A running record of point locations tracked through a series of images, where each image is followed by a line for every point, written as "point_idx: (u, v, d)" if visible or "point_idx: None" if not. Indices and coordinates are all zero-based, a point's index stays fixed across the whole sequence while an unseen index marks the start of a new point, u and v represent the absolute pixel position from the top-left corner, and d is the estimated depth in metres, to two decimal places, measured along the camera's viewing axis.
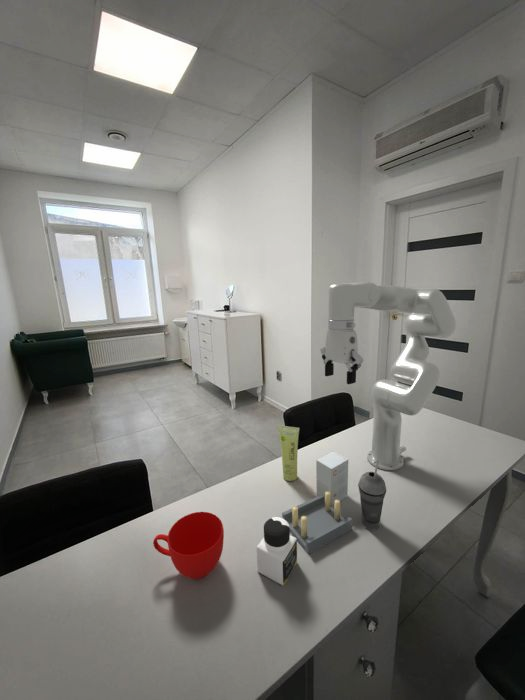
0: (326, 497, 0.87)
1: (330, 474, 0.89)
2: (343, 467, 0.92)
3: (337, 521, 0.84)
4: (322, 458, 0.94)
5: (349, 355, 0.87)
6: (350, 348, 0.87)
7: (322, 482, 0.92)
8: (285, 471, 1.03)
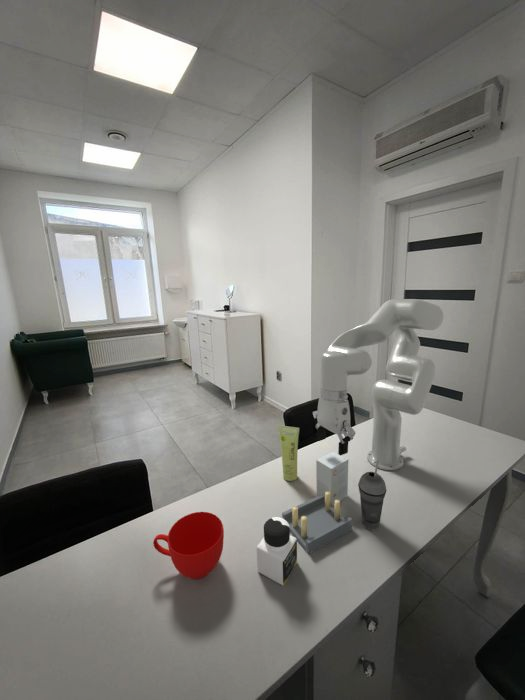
0: (326, 497, 0.87)
1: (330, 474, 0.89)
2: (343, 467, 0.92)
3: (337, 521, 0.84)
4: (322, 458, 0.94)
5: (341, 426, 0.85)
6: (342, 419, 0.85)
7: (322, 482, 0.92)
8: (285, 471, 1.03)
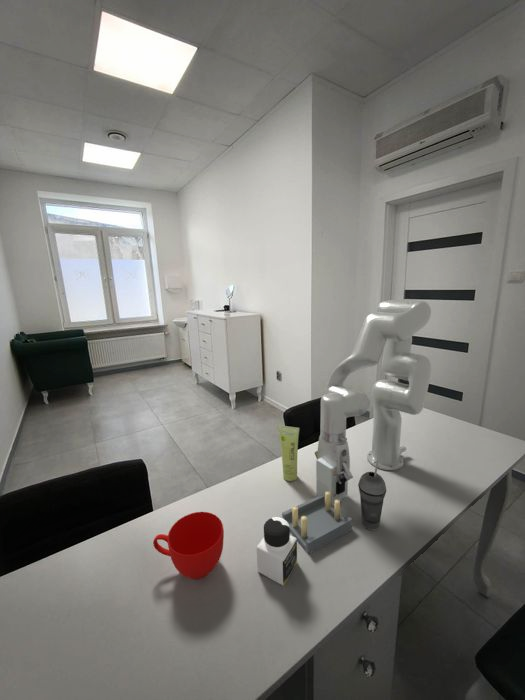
0: (326, 497, 0.87)
1: (330, 474, 0.89)
2: None
3: (337, 521, 0.84)
4: None
5: (341, 468, 0.88)
6: (342, 461, 0.88)
7: (322, 482, 0.92)
8: (285, 471, 1.03)
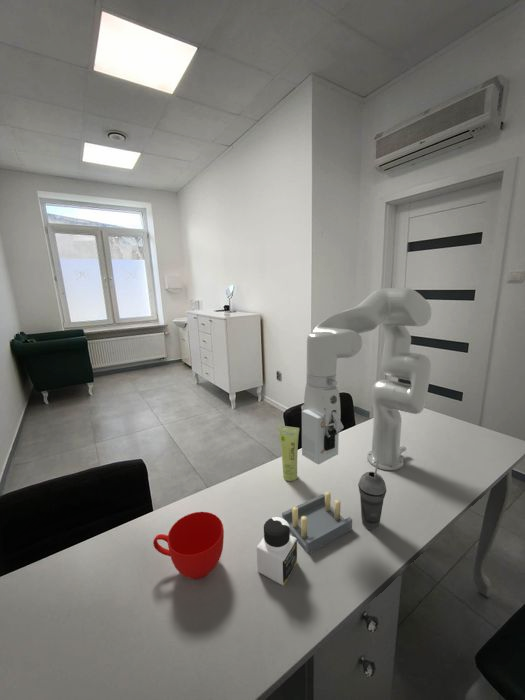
0: (326, 497, 0.87)
1: (316, 425, 0.75)
2: None
3: (337, 521, 0.84)
4: None
5: (330, 417, 0.74)
6: (331, 409, 0.74)
7: (308, 436, 0.79)
8: (285, 471, 1.03)
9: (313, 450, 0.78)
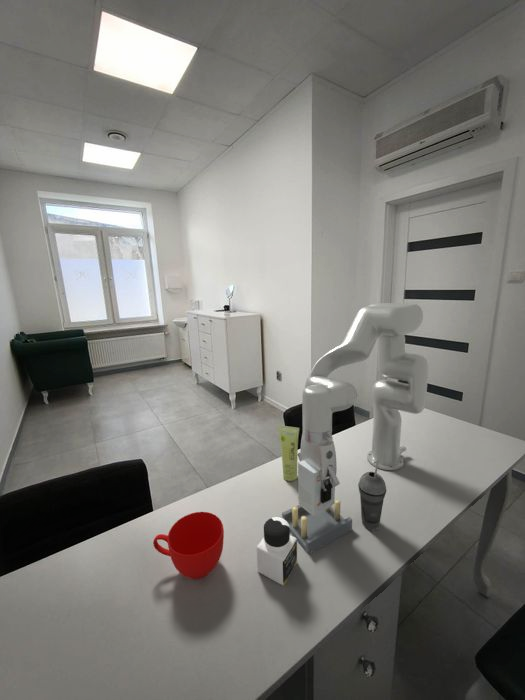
0: None
1: (313, 479, 0.76)
2: None
3: (337, 521, 0.84)
4: (305, 461, 0.80)
5: (326, 472, 0.75)
6: (327, 464, 0.75)
7: (304, 488, 0.79)
8: (285, 471, 1.03)
9: (310, 502, 0.78)
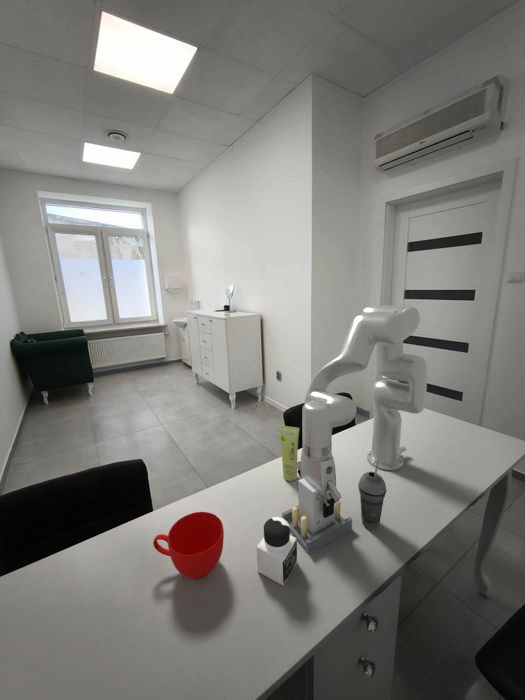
0: None
1: (312, 498, 0.77)
2: None
3: (337, 521, 0.84)
4: None
5: (325, 487, 0.76)
6: (326, 479, 0.76)
7: (304, 506, 0.81)
8: (285, 471, 1.03)
9: (309, 520, 0.80)
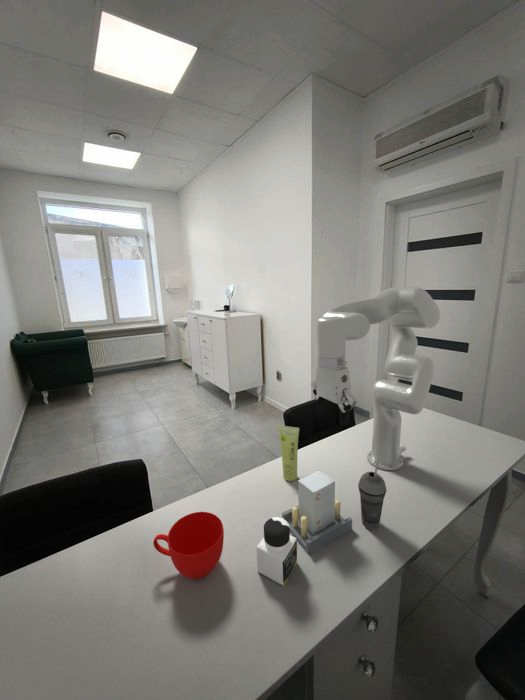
0: None
1: (312, 498, 0.77)
2: (329, 489, 0.80)
3: (337, 521, 0.84)
4: (305, 478, 0.82)
5: (341, 395, 0.80)
6: (342, 387, 0.80)
7: (304, 506, 0.81)
8: (285, 471, 1.03)
9: (309, 520, 0.80)
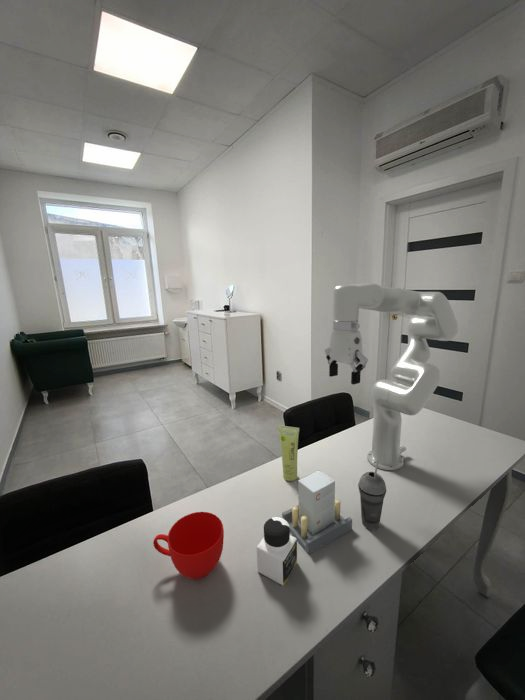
0: None
1: (312, 498, 0.77)
2: (329, 489, 0.80)
3: (337, 521, 0.84)
4: (305, 478, 0.82)
5: (354, 356, 0.88)
6: (355, 349, 0.88)
7: (304, 506, 0.81)
8: (285, 471, 1.03)
9: (309, 520, 0.80)
